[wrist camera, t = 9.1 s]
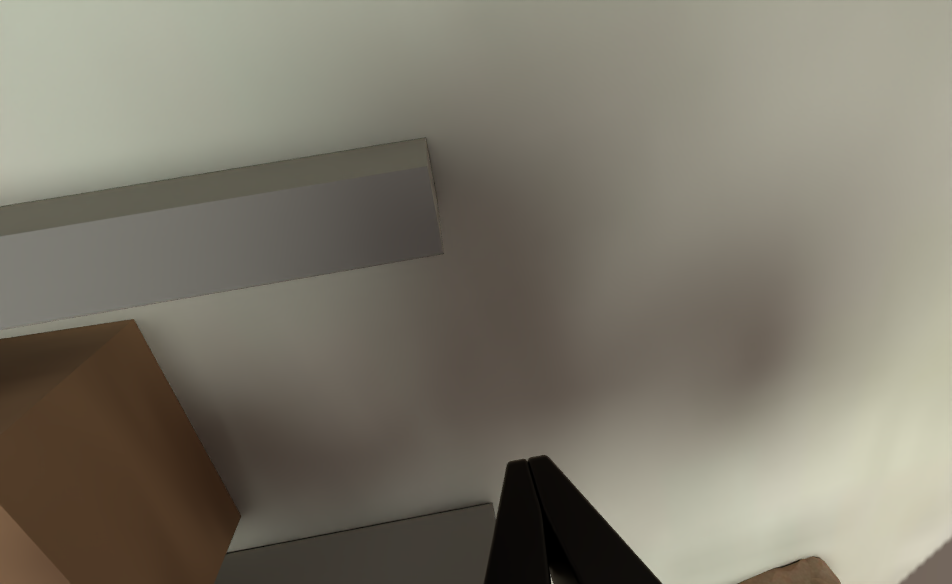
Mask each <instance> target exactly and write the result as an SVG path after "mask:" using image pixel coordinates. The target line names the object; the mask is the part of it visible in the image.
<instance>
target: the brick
mask: <svg viewBox="0 0 952 584" xmlns="http://www.w3.org/2000/svg"><path fill="white" fill-rule="evenodd" d="M738 584H841V583H840V581H839V579H838V578H837V577H836V575H835V574H834V573H833V572H832V570H831V569H830V568H829V567H828V566H827V564H826V563H825V562H824V561H823V560H821V559H819V558H816V557H809V558H806V559H801V560H799V561H798V562H796V563H793V564H791V565H788V566H785V567H782V568H775V569H772V570H769V571H766V572H764V573H762V574H759V575H757V576H754V577H752V578H750V579H747V580H745V581H742V582H740V583H738Z"/></svg>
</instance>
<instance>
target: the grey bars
mask: <svg viewBox="0 0 952 584" xmlns="http://www.w3.org/2000/svg"><path fill="white" fill-rule="evenodd" d="M440 254H444V252H443V244H442V236H441V227H440V219H439V211H438V203H437V197H436V192H435V186H434V181H433V175H432V170H431V164H430V159H429V153H428V148H427V142H426V138H420V139H414V140H408V141H401V142H395V143H389V144H383V145H377V146H371V147H365V148H358V149H352V150H346V151H340V152H334V153H328V154H321V155H315V156H309V157H303V158H297V159H291V160H285V161H278V162H272V163H266V164H260V165H254V166H248V167H241V168H235V169H229V170H223V171H217V172H211V173H205V174H198V175H192V176H186V177H180V178H174V179H168V180H161V181H155V182H149V183H143V184H137V185H131V186H125V187H118V188H112V189H106V190H100V191H94V192H88V193H81V194H75V195H69V196H63V197H57V198H51V199H45V200H38V201H32V202H26V203H20V204H14V205H8V206H1V207H0V330H3V329H9V328H15V327H21V326H27V325H33V324H38V323H44V322H50V321H56V320H62V319H68V318H73V317H79V316H85V315H91V314H97V313H103V312H108V311H114V310H120V309H126V308H132V307H137V306H143V305H149V304H155V303H161V302H167V301H172V300H178V299H184V298H190V297H196V296H202V295H207V294H213V293H219V292H225V291H231V290H237V289H242V288H248V287H254V286H260V285H266V284H271V283H277V282H283V281H289V280H295V279H301V278H306V277H312V276H318V275H324V274H330V273H336V272H341V271H347V270H353V269H359V268H365V267H370V266H376V265H382V264H388V263H394V262H400V261H405V260H411V259H417V258H423V257H429V256H435V255H440ZM495 522H496V519H495V514H494V509H493V503H491V504H485V505H480V506H475V507H470V508H464V509H459V510H454V511H449V512H444V513H438V514H433V515H428V516H423V517H417V518H412V519H407V520H402V521H397V522H391V523H386V524H381V525H376V526H370V527H365V528H360V529H355V530H350V531H344V532H339V533H334V534H329V535H323V536H318V537H313V538H308V539H303V540H297V541H292V542H287V543H282V544H276V545H271V546H266V547H261V548H256V549H250V550H245V551H240V552H235V553H229V554H226V555H225V557H224V560H223V562H222V565H221V567H220V570H219V572H218V575H217V577H216V580H215V582H214V584H483V583H484V578H485V573H486V568H487V563H488V558H489V553H490V548H491V543H492V538H493V533H494V528H495Z"/></svg>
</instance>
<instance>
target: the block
mask: <svg viewBox="0 0 952 584" xmlns="http://www.w3.org/2000/svg"><path fill="white" fill-rule="evenodd" d="M240 518H241V515H240V513H239V511H238V510H237V508H236V506H235V504H234V502H233V500H232V499H231V497H230V495H229V493H228V491H227V489H226V488H225V486H224V484H223V482H222V480H221V478H220V477H219V475H218V473H217V471H216V469H215V467H214V466H213V464H212V462H211V460H210V458H209V456H208V455H207V453H206V451H205V449H204V447H203V445H202V444H201V442H200V440H199V438H198V436H197V434H196V433H195V431H194V429H193V427H192V425H191V423H190V422H189V420H188V418H187V416H186V414H185V412H184V411H183V409H182V407H181V405H180V403H179V401H178V400H177V398H176V396H175V394H174V392H173V390H172V389H171V387H170V385H169V383H168V381H167V379H166V378H165V376H164V374H163V372H162V370H161V368H160V367H159V365H158V363H157V361H156V359H155V357H154V356H153V354H152V352H151V350H150V348H149V346H148V345H147V343H146V341H145V339H144V337H143V335H142V334H141V332H140V330H139V328H138V326H137V324H136V323H135V321H134V319H131V320H124V321H117V322H111V323H104V324H97V325H91V326H84V327H78V328H71V329H64V330H58V331H51V332H44V333H38V334H31V335H24V336H18V337H11V338H4V339H0V584H214V582H215V580H216V577H217V575H218V572H219V570H220V567H221V565H222V562H223V560H224V557H225V555H226V552H227V550H228V547H229V545H230V543H231V540H232V538H233V535H234V533H235V530H236V528H237V525H238V523H239V520H240Z"/></svg>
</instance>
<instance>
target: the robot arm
mask: <svg viewBox="0 0 952 584" xmlns="http://www.w3.org/2000/svg"><path fill="white" fill-rule="evenodd" d="M550 574H551V577H552V581H553V584H662V583H661V582H660V580H659V579H658V578H657V577H656V576H655V575H654V574H653V573H652V572H651V570H650V569H649V568H648V567H647V566H646V565H645V564H644V563H643V562H642V560H641V559H640V558H639V557H638V556H637V555H636V554H635V553H634V552H633V550H632V549H631V548H630V547H629V546H628V545H627V544H626V543H625V541H624V540H623V539H622V538H621V537H620V536H619V535H618V534H617V533H616V531H615V530H614V529H613V528H612V527H611V526H610V525H609V524H608V523H607V521H606V520H605V519H604V518H603V517H602V516H601V515H600V514H599V513H598V511H597V510H596V509H595V508H594V507H593V506H592V505H591V504H590V503H589V501H588V500H587V499H586V498H585V497H584V496H583V495H582V494H581V492H580V491H579V490H578V489H577V488H576V487H575V486H574V485H573V484H572V482H571V481H570V480H569V479H568V478H567V477H566V476H565V475H564V474H563V472H562V471H561V470H560V469H559V468H558V467H557V466H556V465H555V464H554V462H553V461H552V460H551V459H550V458H549V457H548V456H546V455H541V456H536V457H531V458H529V459H528V462H527V460H526V459H520V460H514V461H510V462H508V464H507V467H506V472H505V477H504V482H503V487H502V492H501V497H500V502H499V507H498V512H497V517H496V522H495V528H494V533H493V538H492V543H491V548H490V553H489V558H488V563H487V568H486V573H485V578H484V583H483V584H551V577H550Z"/></svg>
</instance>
